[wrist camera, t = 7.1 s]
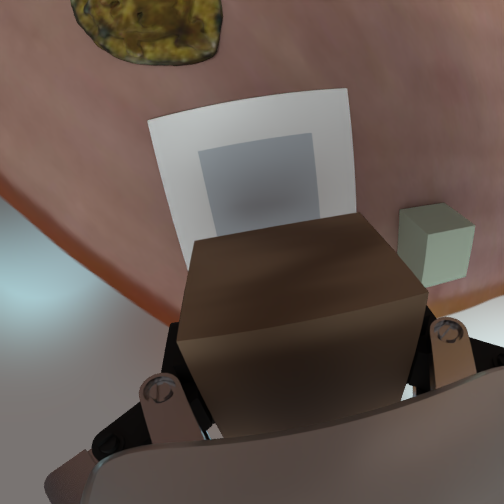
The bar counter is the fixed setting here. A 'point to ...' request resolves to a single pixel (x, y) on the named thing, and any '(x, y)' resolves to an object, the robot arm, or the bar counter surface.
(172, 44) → the olive brown ornament
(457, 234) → the sage cube
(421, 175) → the bar counter surface
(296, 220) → the board
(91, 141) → the bar counter surface
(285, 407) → the walnut block
